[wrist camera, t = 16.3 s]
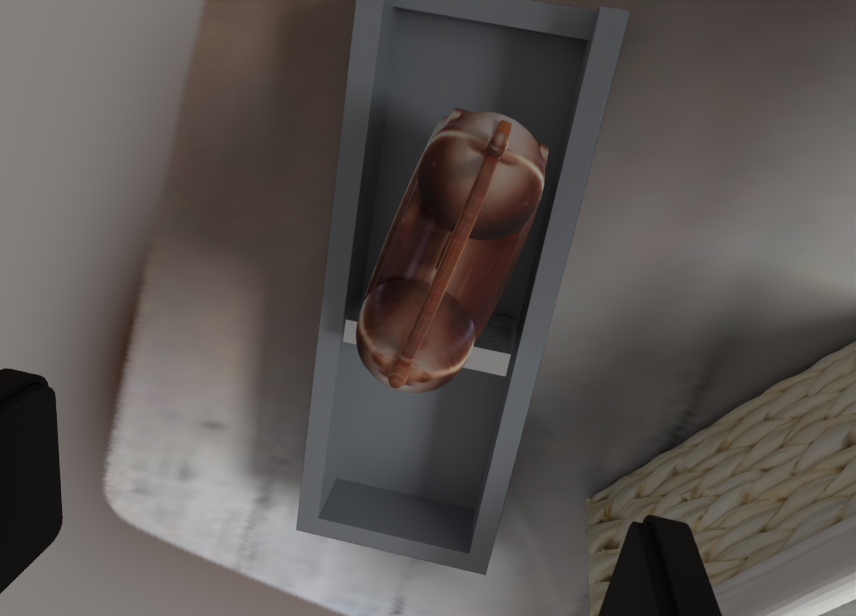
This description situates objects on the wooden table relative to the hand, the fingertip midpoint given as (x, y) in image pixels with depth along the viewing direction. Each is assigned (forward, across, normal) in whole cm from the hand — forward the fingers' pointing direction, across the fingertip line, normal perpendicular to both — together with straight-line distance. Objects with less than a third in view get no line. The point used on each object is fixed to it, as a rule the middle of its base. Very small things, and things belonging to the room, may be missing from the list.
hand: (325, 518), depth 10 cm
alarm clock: (+25, 0, +1) cm, 25 cm away
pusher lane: (+26, 0, +5) cm, 27 cm away
